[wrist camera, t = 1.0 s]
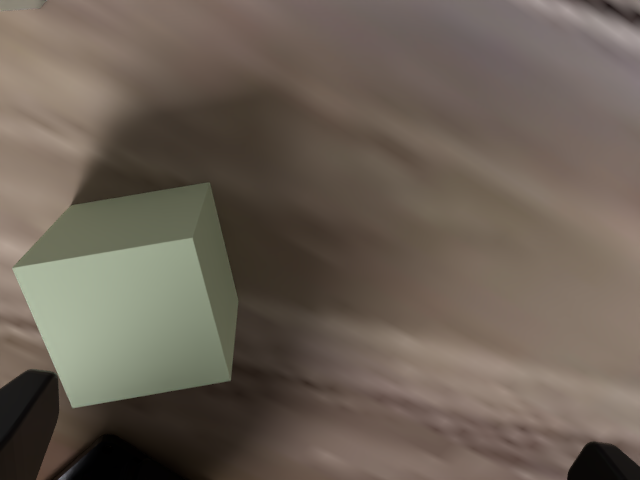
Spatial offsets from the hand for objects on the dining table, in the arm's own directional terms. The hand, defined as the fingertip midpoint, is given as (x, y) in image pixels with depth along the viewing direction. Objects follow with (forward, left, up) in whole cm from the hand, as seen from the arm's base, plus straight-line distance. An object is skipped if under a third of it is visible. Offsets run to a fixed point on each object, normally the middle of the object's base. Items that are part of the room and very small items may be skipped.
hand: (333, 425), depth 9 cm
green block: (-5, +2, -12) cm, 13 cm away
